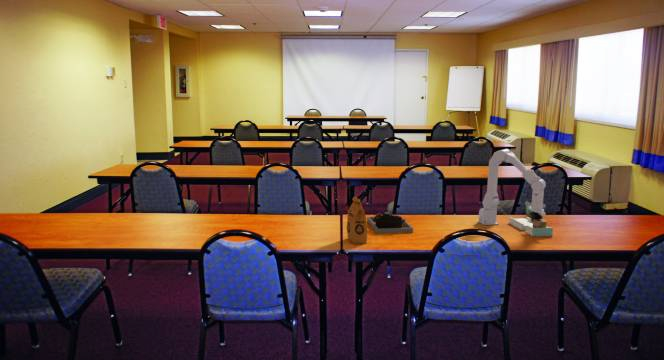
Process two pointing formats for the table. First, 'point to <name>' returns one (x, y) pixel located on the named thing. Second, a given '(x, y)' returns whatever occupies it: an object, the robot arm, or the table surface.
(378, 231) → the tray
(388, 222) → the black lump on tray
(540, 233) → the trap runway
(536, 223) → the walnut block
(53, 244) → the table surface
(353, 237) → the coffee package
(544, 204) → the food container
